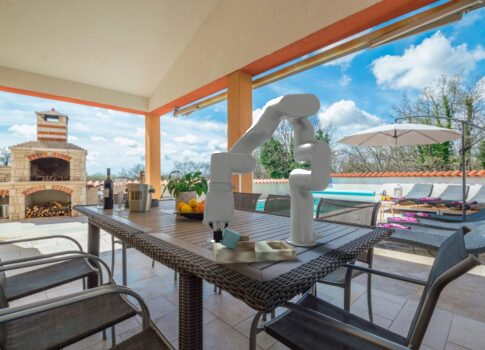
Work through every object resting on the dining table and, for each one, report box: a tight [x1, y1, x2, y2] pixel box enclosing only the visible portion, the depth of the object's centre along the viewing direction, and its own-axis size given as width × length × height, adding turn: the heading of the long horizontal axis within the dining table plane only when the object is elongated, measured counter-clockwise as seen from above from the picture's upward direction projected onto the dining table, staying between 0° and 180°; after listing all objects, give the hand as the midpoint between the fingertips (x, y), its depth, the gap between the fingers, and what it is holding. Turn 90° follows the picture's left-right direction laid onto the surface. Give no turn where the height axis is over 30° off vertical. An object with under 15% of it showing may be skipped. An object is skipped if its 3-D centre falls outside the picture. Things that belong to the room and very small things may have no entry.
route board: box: [211, 234, 297, 265], centre depth 86 cm, size 27×13×6 cm, turn 102°
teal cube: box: [220, 227, 242, 249], centre depth 84 cm, size 5×5×5 cm
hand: (217, 242), depth 83 cm, fingers closed
